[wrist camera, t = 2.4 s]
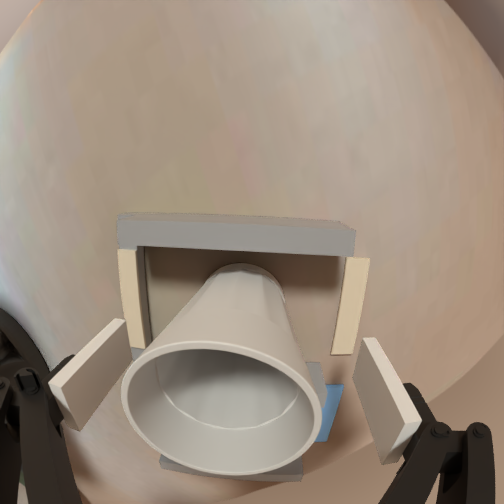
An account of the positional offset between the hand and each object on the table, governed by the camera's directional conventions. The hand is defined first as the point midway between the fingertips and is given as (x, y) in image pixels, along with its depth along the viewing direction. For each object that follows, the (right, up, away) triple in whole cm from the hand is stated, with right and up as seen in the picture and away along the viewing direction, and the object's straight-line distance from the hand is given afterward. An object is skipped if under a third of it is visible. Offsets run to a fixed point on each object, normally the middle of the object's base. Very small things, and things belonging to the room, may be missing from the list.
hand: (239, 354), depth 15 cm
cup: (0, +2, +7) cm, 7 cm away
